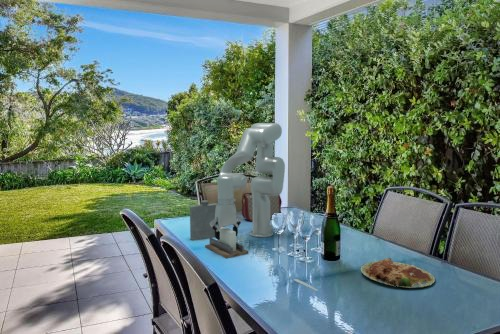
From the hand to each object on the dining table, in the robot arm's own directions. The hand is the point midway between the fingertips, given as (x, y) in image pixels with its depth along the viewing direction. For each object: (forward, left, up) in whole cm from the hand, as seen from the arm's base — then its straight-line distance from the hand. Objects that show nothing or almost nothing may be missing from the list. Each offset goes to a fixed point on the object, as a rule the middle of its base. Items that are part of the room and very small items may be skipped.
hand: (226, 237), depth 200 cm
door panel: (0, 0, -5) cm, 5 cm away
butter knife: (-3, +60, -7) cm, 61 cm away
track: (0, 0, -6) cm, 6 cm away
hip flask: (-2, -25, -7) cm, 26 cm away
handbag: (-52, -43, -7) cm, 68 cm away
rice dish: (-38, +67, -7) cm, 78 cm away
